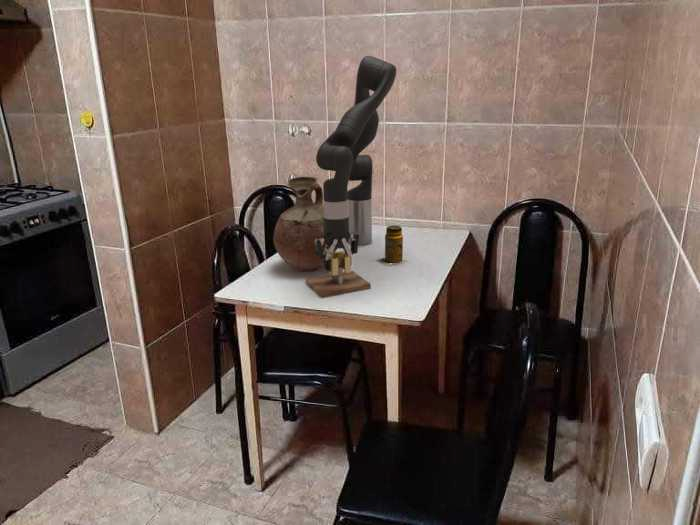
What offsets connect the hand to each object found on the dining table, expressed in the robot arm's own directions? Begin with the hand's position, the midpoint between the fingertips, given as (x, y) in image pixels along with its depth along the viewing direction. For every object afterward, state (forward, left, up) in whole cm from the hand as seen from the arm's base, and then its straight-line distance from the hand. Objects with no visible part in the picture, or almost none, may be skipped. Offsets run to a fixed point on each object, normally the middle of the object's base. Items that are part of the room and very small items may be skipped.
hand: (337, 269), depth 161 cm
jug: (-21, -2, -6) cm, 22 cm away
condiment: (-13, +26, -6) cm, 30 cm away
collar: (0, 0, -1) cm, 1 cm away
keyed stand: (0, 0, -5) cm, 5 cm away
